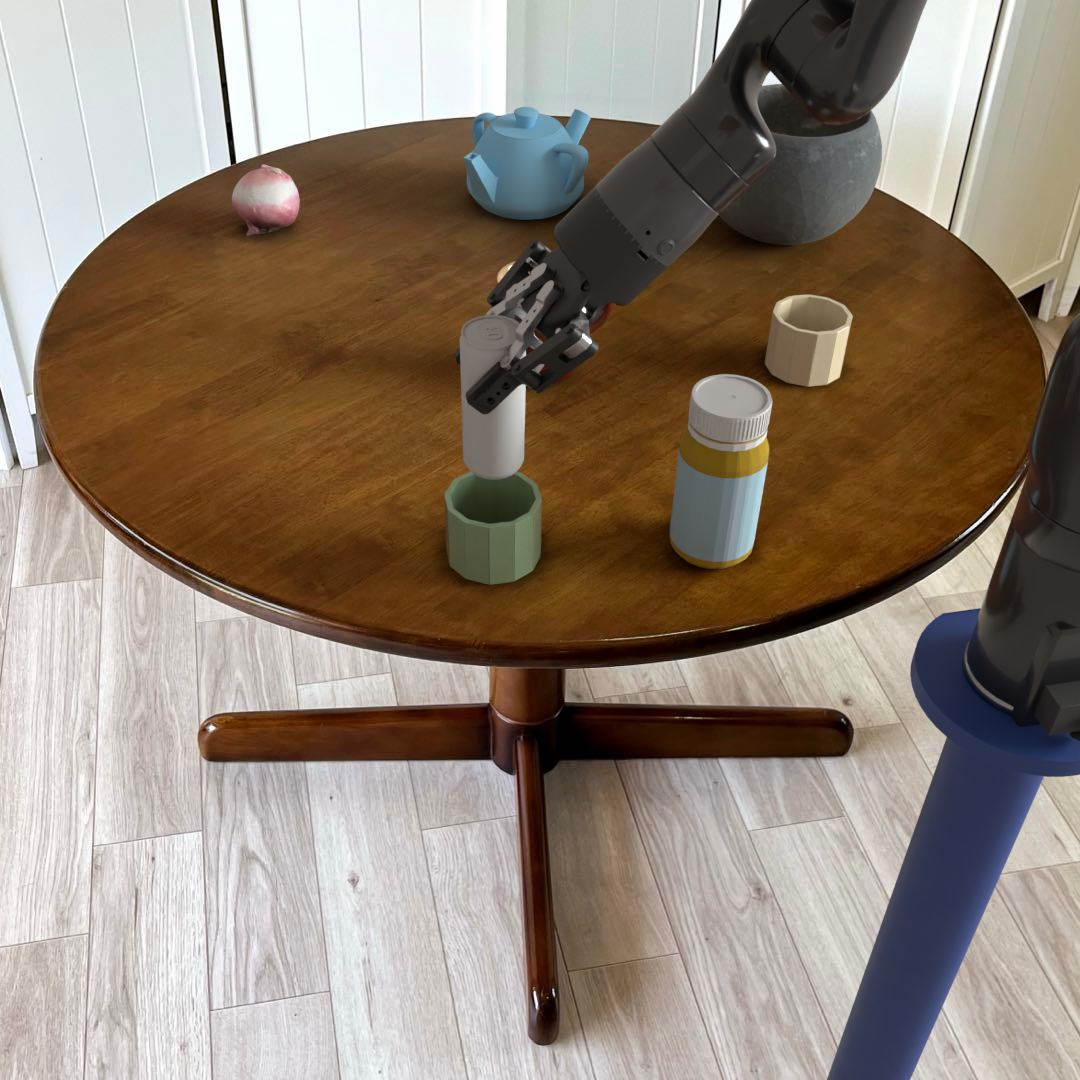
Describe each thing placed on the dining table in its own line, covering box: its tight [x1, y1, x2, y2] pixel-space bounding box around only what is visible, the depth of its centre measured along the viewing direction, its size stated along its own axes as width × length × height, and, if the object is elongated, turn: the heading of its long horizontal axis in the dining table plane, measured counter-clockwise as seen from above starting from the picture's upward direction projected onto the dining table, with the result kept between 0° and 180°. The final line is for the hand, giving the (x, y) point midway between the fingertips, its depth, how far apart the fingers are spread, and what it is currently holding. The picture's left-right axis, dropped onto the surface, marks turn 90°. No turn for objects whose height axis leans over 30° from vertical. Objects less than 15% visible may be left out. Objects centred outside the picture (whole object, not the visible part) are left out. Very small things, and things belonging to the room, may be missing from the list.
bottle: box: [669, 373, 773, 570], centre depth 99 cm, size 7×7×15 cm
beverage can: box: [459, 314, 527, 480], centre depth 93 cm, size 5×5×12 cm
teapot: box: [462, 106, 592, 221], centre depth 150 cm, size 15×17×11 cm
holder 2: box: [764, 293, 854, 388], centre depth 123 cm, size 8×8×6 cm
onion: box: [231, 163, 301, 237], centre depth 144 cm, size 8×8×7 cm
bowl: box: [718, 83, 883, 246], centre depth 143 cm, size 20×20×15 cm
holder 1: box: [443, 470, 543, 586], centre depth 100 cm, size 8×8×6 cm
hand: (469, 384), depth 91 cm, fingers closed on beverage can, 5 cm apart
